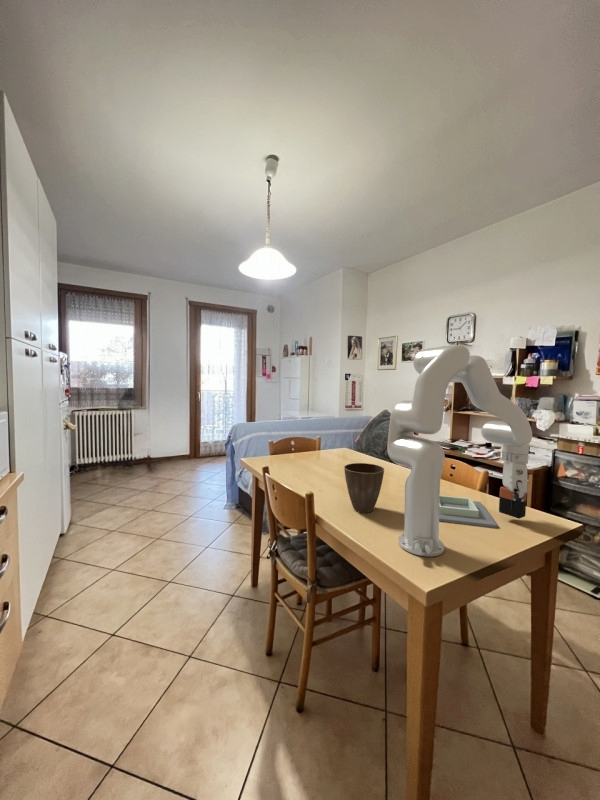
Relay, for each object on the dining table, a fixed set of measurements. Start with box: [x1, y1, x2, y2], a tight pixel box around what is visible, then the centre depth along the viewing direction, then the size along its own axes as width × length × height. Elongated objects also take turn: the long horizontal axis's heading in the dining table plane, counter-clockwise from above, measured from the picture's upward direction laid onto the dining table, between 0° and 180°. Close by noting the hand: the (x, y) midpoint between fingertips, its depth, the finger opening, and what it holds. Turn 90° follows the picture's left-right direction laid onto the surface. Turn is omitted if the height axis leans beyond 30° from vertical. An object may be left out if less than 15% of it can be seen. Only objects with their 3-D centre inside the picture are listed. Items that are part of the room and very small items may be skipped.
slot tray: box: [439, 494, 498, 529], centre depth 118 cm, size 22×22×4 cm
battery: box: [498, 485, 528, 520], centre depth 109 cm, size 4×7×10 cm, turn 31°
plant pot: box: [343, 462, 385, 514], centre depth 120 cm, size 15×15×16 cm
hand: (512, 507), depth 109 cm, fingers closed on battery, 7 cm apart
